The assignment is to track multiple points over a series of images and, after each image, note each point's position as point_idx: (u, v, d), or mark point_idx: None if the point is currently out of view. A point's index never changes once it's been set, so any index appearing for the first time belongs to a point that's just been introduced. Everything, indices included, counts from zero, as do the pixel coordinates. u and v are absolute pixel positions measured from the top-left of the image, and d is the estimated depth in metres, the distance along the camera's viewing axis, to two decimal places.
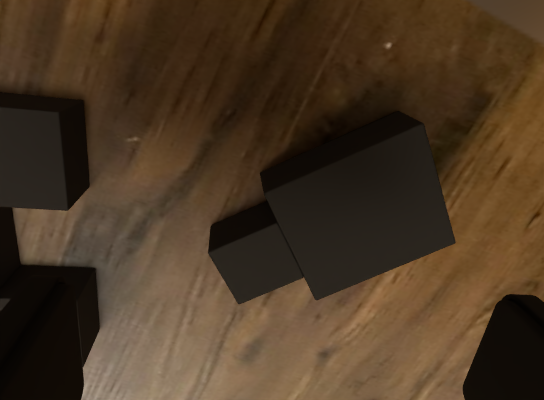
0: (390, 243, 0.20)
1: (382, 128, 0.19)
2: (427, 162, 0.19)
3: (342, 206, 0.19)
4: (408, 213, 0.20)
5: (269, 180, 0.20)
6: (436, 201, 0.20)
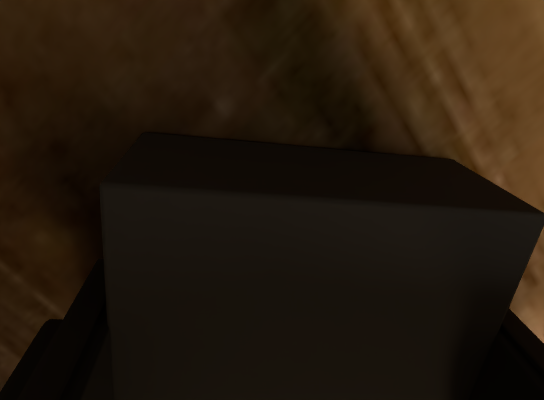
0: (405, 365, 0.07)
1: None
2: (235, 212, 0.06)
3: None
4: (358, 303, 0.07)
5: None
6: (375, 227, 0.06)
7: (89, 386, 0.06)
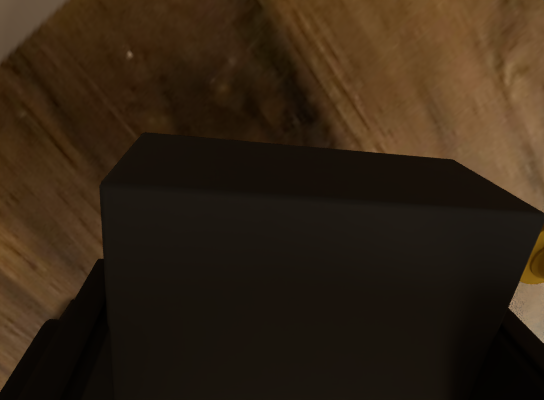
0: (405, 364, 0.07)
1: None
2: (235, 212, 0.06)
3: None
4: (358, 303, 0.07)
5: None
6: (375, 227, 0.06)
7: (89, 386, 0.06)
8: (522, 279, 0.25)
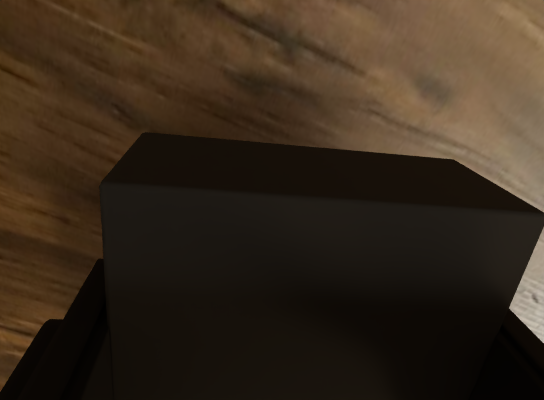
0: (405, 364, 0.07)
1: None
2: (235, 212, 0.06)
3: None
4: (359, 303, 0.07)
5: None
6: (376, 227, 0.06)
7: (89, 386, 0.06)
8: None
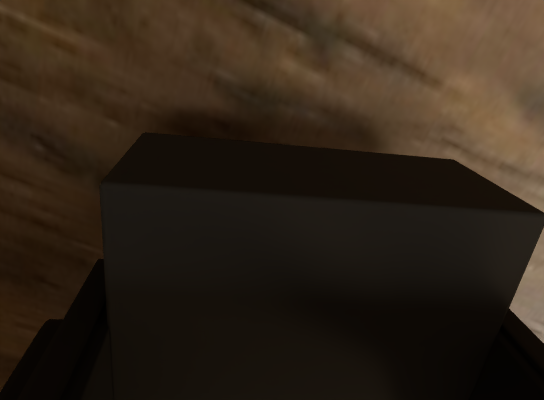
0: (405, 364, 0.07)
1: None
2: (235, 212, 0.06)
3: None
4: (359, 303, 0.07)
5: None
6: (376, 227, 0.06)
7: (89, 386, 0.06)
8: None
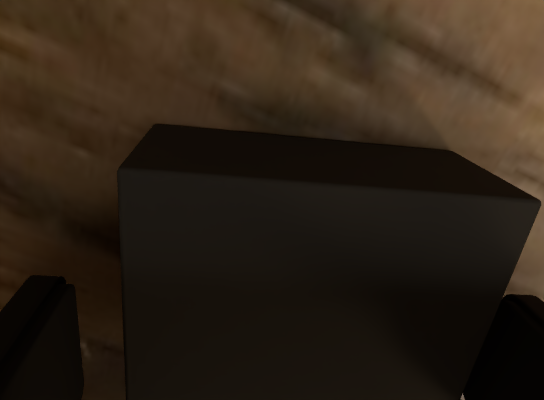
0: (405, 346, 0.08)
1: None
2: (245, 197, 0.06)
3: None
4: (361, 285, 0.07)
5: None
6: (378, 212, 0.06)
7: None
8: None
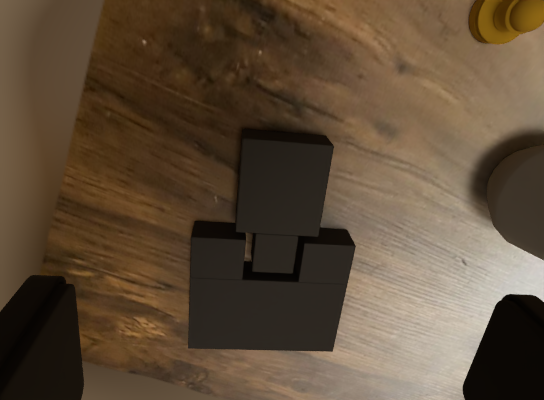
0: (307, 183, 0.31)
1: None
2: (268, 144, 0.30)
3: (266, 198, 0.32)
4: (294, 166, 0.31)
5: None
6: (296, 147, 0.30)
7: None
8: (498, 41, 0.30)
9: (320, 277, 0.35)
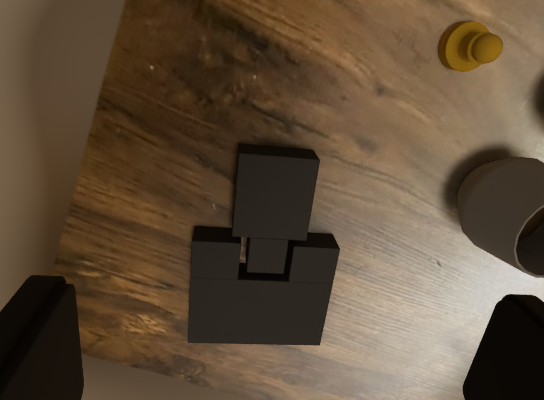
0: (296, 193, 0.35)
1: (237, 163, 0.35)
2: (261, 158, 0.33)
3: (260, 206, 0.35)
4: (285, 177, 0.34)
5: None
6: (286, 161, 0.34)
7: None
8: (463, 69, 0.34)
9: (308, 277, 0.39)
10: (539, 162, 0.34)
